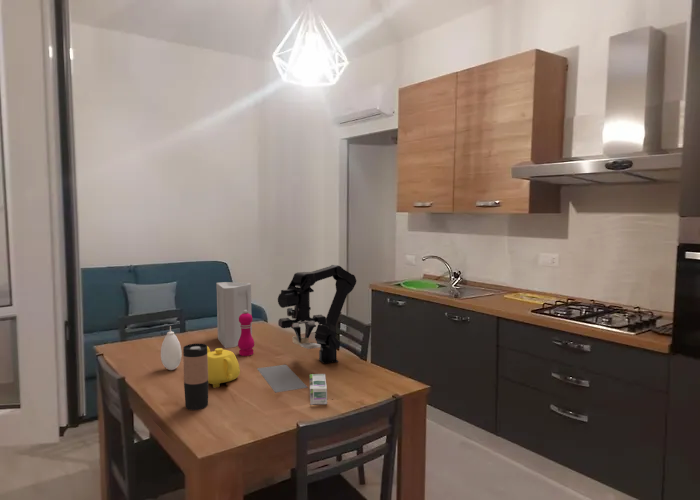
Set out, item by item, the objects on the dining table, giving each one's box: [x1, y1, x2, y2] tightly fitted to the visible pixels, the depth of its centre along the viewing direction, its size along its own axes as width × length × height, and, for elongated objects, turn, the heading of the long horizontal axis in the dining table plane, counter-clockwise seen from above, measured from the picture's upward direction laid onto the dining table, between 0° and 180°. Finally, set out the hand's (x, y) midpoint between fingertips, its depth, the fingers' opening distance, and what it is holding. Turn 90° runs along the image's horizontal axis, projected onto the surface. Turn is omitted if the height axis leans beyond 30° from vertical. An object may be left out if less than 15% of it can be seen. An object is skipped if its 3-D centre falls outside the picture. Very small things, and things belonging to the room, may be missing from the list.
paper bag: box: [216, 281, 253, 349], centre depth 240 cm, size 19×15×28 cm
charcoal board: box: [256, 364, 309, 393], centre depth 187 cm, size 12×28×1 cm, turn 24°
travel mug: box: [182, 343, 209, 411], centre depth 162 cm, size 8×8×20 cm
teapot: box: [207, 345, 241, 389], centre depth 186 cm, size 14×20×13 cm
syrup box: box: [309, 373, 328, 406], centre depth 170 cm, size 6×6×14 cm
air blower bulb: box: [160, 325, 183, 371], centre depth 199 cm, size 8×8×18 cm
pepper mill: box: [237, 310, 255, 357], centre depth 219 cm, size 7×7×20 cm
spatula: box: [292, 335, 321, 350], centre depth 198 cm, size 5×24×3 cm, turn 24°
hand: (302, 342), depth 199 cm, fingers closed on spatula, 2 cm apart
